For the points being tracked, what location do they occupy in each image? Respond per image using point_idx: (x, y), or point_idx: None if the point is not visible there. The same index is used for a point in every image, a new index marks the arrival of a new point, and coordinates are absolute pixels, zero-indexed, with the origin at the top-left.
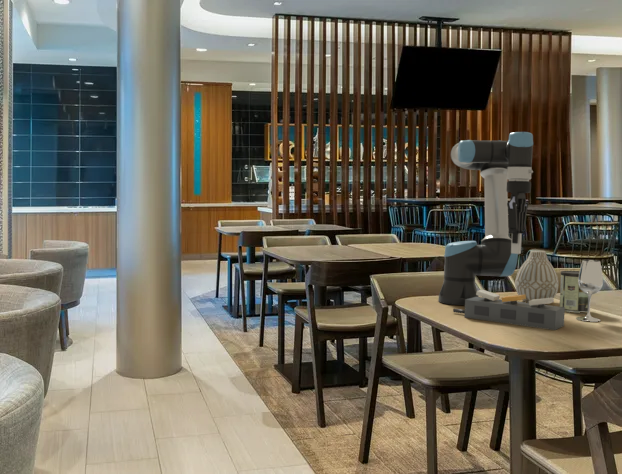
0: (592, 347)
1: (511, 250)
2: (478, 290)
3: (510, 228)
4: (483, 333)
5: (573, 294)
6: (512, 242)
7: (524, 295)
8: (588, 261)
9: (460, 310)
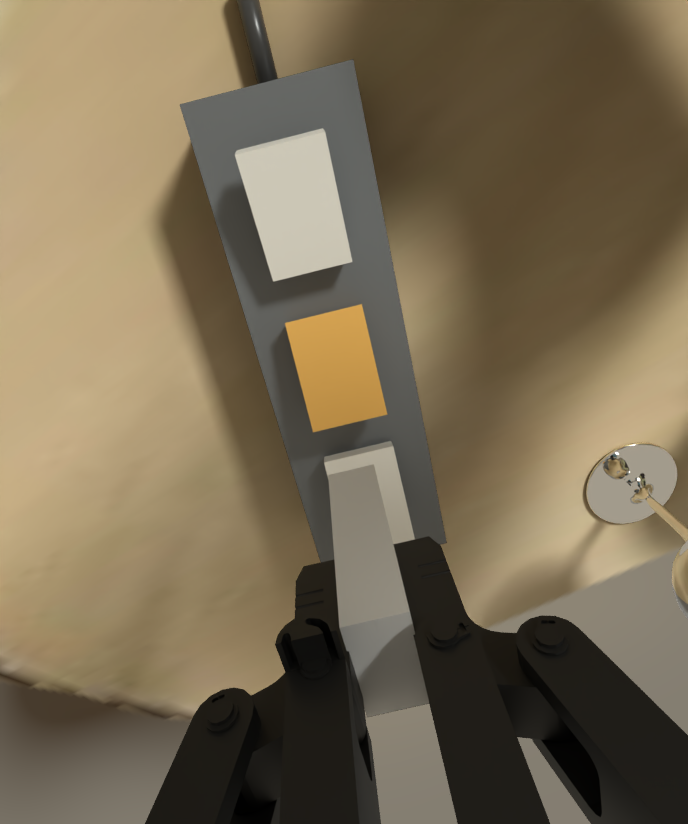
0: (188, 699)
1: (331, 492)
2: (259, 149)
3: (189, 761)
4: (2, 422)
5: None
6: (301, 574)
7: (371, 417)
8: None
9: (246, 32)
